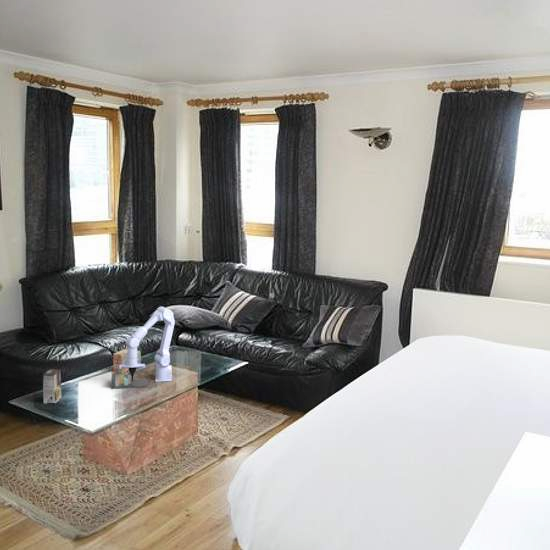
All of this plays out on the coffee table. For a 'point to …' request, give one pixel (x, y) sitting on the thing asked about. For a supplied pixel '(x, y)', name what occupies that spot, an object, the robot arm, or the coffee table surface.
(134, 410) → the coffee table surface
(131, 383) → the grey slab
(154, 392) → the coffee table surface
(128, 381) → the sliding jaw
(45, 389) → the coffee box
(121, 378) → the brass block
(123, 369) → the stack of blocks
